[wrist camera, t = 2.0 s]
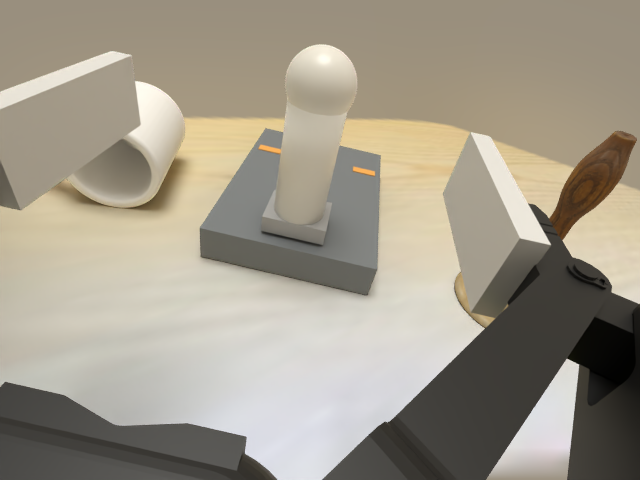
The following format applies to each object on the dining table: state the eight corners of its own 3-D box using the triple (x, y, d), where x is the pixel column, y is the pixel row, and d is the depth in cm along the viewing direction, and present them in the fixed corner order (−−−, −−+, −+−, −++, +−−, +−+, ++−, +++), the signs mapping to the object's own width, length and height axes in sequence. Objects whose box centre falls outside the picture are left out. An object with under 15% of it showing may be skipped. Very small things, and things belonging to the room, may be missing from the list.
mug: (187, 160, 41) (183, 87, 36) (164, 213, 34) (155, 131, 29) (69, 145, 40) (48, 66, 34) (17, 198, 32) (-20, 106, 27)
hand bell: (564, 349, 30) (741, 180, 20) (466, 332, 30) (597, 150, 19) (527, 276, 36) (646, 121, 26) (445, 261, 36) (536, 96, 26)
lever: (259, 232, 29) (278, 44, 20) (273, 201, 33) (294, 29, 24) (322, 247, 29) (367, 65, 20) (329, 214, 33) (370, 47, 24)
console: (200, 256, 30) (199, 226, 29) (263, 151, 46) (265, 127, 44) (367, 295, 31) (377, 268, 29) (373, 177, 46) (380, 154, 44)
